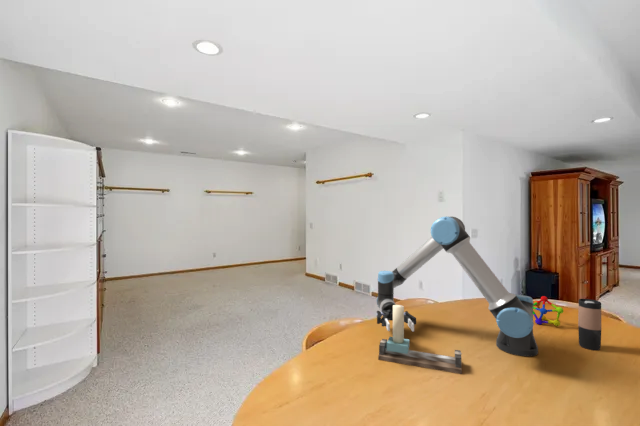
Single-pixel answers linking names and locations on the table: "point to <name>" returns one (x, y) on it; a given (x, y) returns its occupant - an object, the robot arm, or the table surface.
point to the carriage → (398, 332)
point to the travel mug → (589, 324)
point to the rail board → (422, 359)
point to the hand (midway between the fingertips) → (401, 327)
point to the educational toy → (544, 311)
